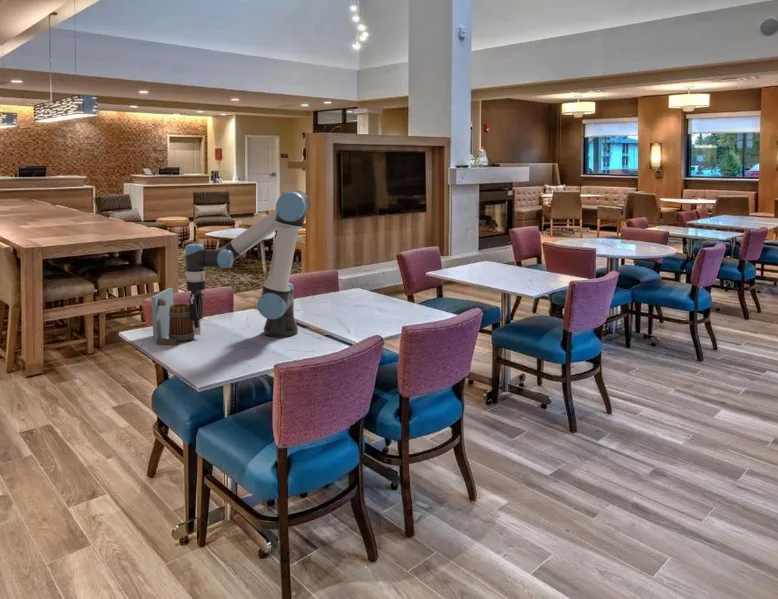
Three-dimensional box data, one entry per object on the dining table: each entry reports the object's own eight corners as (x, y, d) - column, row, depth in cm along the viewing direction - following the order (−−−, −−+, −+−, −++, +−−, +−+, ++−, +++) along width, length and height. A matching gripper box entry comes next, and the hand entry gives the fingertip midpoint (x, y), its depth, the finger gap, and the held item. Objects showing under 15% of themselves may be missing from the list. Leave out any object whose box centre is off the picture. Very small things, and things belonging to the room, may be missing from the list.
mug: (183, 344, 262) (181, 309, 259) (163, 340, 266) (161, 306, 263) (207, 335, 276) (205, 302, 273) (187, 332, 280) (186, 299, 277)
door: (180, 331, 281) (178, 287, 277) (163, 344, 262) (160, 297, 257) (171, 331, 281) (169, 287, 277) (153, 343, 262) (151, 296, 258)
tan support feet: (193, 331, 282) (193, 326, 282) (176, 345, 260) (175, 339, 260) (176, 330, 282) (175, 325, 282) (157, 344, 260) (156, 338, 260)
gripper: (191, 277, 272) (194, 330, 277) (181, 283, 260) (184, 338, 264) (209, 278, 272) (211, 330, 277) (199, 283, 259) (201, 338, 264)
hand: (197, 334), depth 271 cm, fingers closed
